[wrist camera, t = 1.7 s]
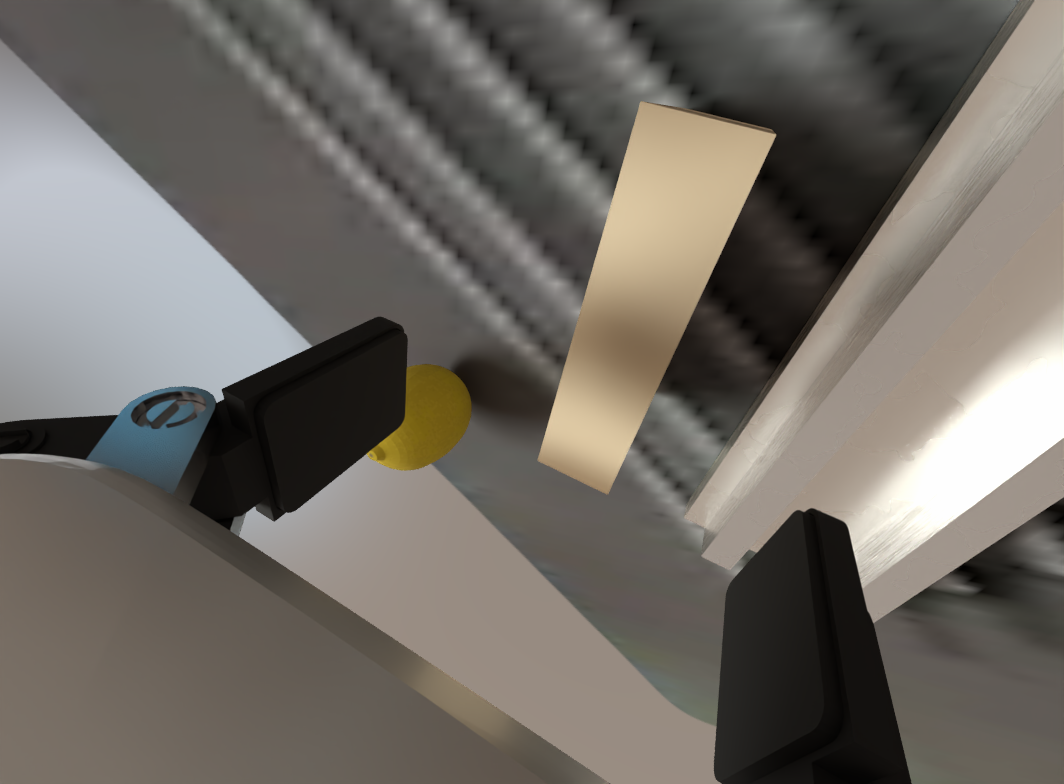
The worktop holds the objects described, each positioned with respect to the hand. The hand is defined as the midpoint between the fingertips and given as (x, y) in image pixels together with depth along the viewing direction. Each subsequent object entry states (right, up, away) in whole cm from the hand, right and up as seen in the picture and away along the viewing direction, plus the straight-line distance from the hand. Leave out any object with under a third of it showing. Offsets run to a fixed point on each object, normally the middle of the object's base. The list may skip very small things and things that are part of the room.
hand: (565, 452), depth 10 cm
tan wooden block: (+5, +7, +9) cm, 12 cm away
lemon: (-6, +2, +18) cm, 19 cm away
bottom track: (+15, +2, +7) cm, 16 cm away
